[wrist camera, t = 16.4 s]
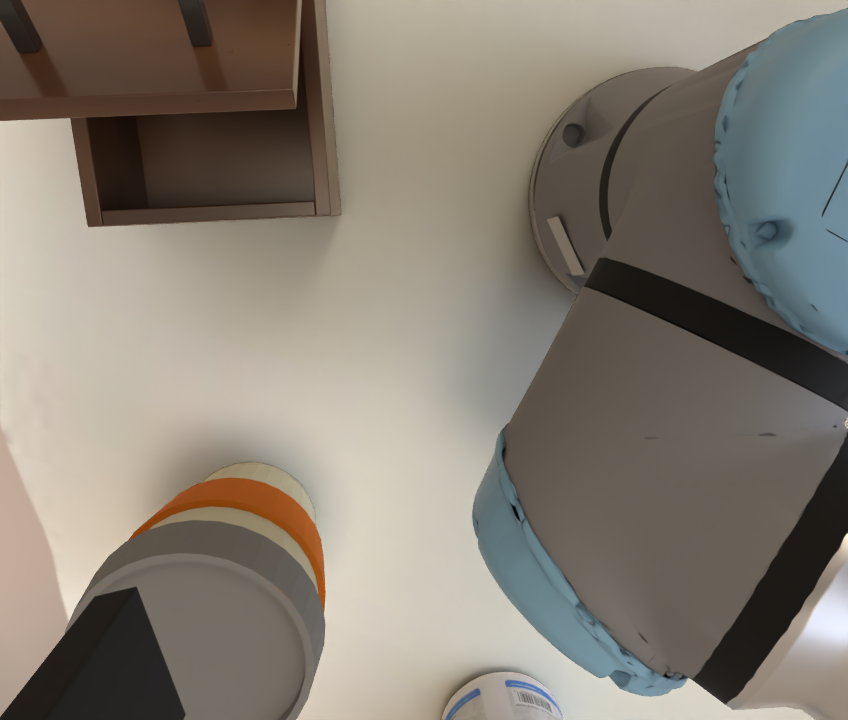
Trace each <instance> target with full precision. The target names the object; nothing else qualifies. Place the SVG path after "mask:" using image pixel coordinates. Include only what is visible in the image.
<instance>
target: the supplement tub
mask: <svg viewBox="0 0 848 720" xmlns="http://www.w3.org/2000/svg"><path fill="white" fill-rule="evenodd" d="M441 720H563V717H562V714H561V712H560V710H559V707H558V704H557V702H556V700H555V698H554V697H553V695H552V694H551V693H550V692H549V690H548V689H547V688H546V687H545V686H544V685H542V684H541V683H540V682H538V681H537V680H535V679H533V678H531V677H529V676H527V675H524V674H520V673H515V672H494V673H489V674H486V675H483V676H480V677H478V678H476V679H474V680H472V681H471V682H469V683H467V684H466V685H465V686H463V687H462V688H461V689H459V690H458V691H457V692H456V693H455V694H454V696H453V697H452V698H451V699H450V701H449V702H448V704H447V706H446V708H445V710H444V713H443V716H442V719H441Z"/></svg>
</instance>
